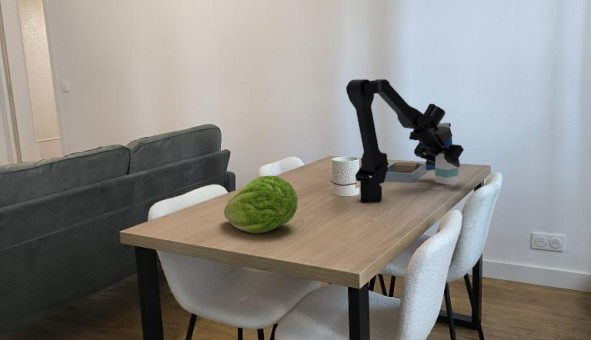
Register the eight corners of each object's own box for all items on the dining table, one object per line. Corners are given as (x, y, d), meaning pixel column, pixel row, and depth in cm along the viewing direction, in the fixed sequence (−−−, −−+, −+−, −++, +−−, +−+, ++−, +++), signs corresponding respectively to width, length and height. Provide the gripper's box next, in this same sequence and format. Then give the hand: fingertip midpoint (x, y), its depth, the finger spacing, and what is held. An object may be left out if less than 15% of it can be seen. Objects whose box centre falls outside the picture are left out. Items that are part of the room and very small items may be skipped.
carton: (447, 186, 180) (447, 152, 178) (435, 183, 185) (435, 151, 183) (457, 183, 183) (458, 151, 181) (445, 181, 188) (446, 149, 185)
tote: (412, 184, 185) (412, 173, 184) (378, 182, 191) (378, 171, 191) (426, 173, 202) (426, 163, 202) (394, 171, 209) (394, 162, 208)
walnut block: (414, 175, 197) (414, 165, 196) (394, 174, 201) (394, 164, 200) (419, 172, 202) (418, 162, 201) (399, 171, 206) (399, 161, 205)
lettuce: (213, 243, 143) (252, 232, 155) (276, 230, 127) (314, 220, 139) (201, 191, 144) (241, 185, 156) (263, 172, 128) (302, 167, 141)
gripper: (460, 121, 170) (481, 150, 177) (419, 118, 185) (440, 145, 193) (443, 147, 167) (465, 175, 175) (403, 142, 183) (425, 168, 191)
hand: (449, 164), depth 183 cm, fingers open, 9 cm apart
